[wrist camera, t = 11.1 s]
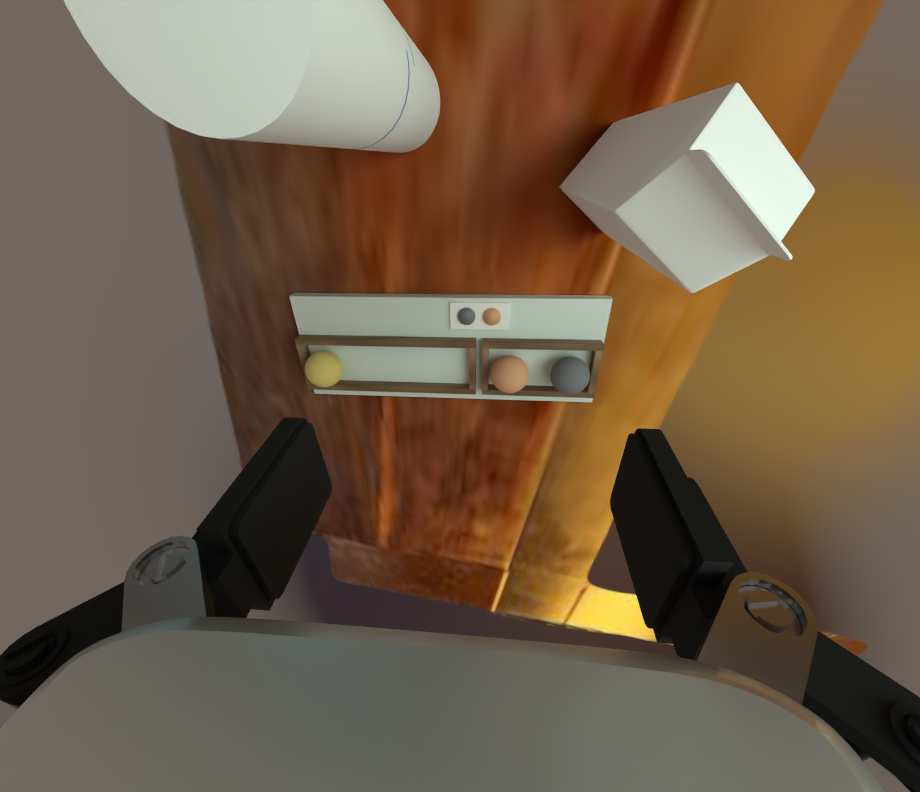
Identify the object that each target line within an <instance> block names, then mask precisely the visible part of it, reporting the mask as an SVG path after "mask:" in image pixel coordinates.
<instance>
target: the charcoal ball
mask: <svg viewBox="0 0 920 792" xmlns="http://www.w3.org/2000/svg"><path fill="white" fill-rule="evenodd" d="M550 379H551V382H552V385H553V386H554V387H555V389H556V390H558V391H559V392H561V393H563V394H568V395H571V394H576V393H579V392H581V391H582V390H583V389H584V388H585V387H586V386H587V385H588V383H589V379H590V371H589V368H588V366H587V364H586V363H585V362H584V361H583V360H581V359H580V358H577V357H574V356H568V357H563V358H561V359H559V360H558V361H557V362H556V363H555V364H554V365H553V367H552V369H551V373H550Z"/></svg>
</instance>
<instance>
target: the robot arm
mask: <svg viewBox="0 0 920 792" xmlns="http://www.w3.org/2000/svg"><path fill="white" fill-rule="evenodd" d="M331 490H332V484H331V481H330V478H329V474H328V471H327V468H326V465H325V462H324V459H323V456H322V453H321V450H320V447H319V443H318V440H317V437H316V434H315V431H314V428H313V425H312V424H311V423H308V422H307V420H306V419H305V418H289V417H286V418H284V419H282V420H281V422H280V423H279V424H278V425H277V427H276V428H275V429H274V431H273V432H272V433H271V434H270V436H269V437H268V438H267V440H266V441H265V442H264V443H263V445H262V446H261V447H260V449H259V450H258V451H257V452H256V454H255V455H254V456H253V457H252V459H251V460H250V461H249V463H248V464H247V465H246V466H245V468H244V469H243V470H242V472H241V473H240V474H239V475H238V477H237V478H236V479H235V481H234V482H233V483H232V484H231V486H230V487H229V488H228V490H227V491H226V492H225V493H224V495H223V496H222V497H221V498H220V500H219V501H218V502H217V504H216V505H215V506H214V508H213V509H212V510H211V511H210V513H209V514H208V515H207V516H206V518H205V519H204V520H203V521H202V523H201V524H200V525H199V527H198V528H197V532H196V533H195V535H194V536H193V537H192V538H190V537H187V536H176V537H170V538H168V539H165V540H162V541H160V542H158V543H156V544H154V545H152V546H150V547H149V548H148V549H146V550H145V551H144V552H142V553H141V554H140V555H139V556H138V557H137V558H136V559H135V560H134V561H133V563H132V564H131V566H130V567H129V569H128V570H127V573H126V576H125V580H124V582H123V583H121V584H119V585H117V586H115V587H113V588H111V589H109V590H107V591H105V592H104V593H102V594H100V595H98V596H96V597H94V598H92V599H90V600H88V601H86V602H84V603H82V604H80V605H78V606H76V607H74V608H72V609H71V610H69V611H67V612H65V613H63V614H61V615H59V616H57V617H55V618H53V619H51V620H49V621H47V622H45V623H44V624H42V625H40V626H38V627H36V628H34V629H33V630H31V631H30V632H28V633H26V634H24V635H23V636H22V637H20V638H19V639H18V640H17V641H15V642H14V643H13V644H12V645H10V646H9V647H8V648H7V649H6V650H5V651H4V652H3V654H1V655H0V792H920V697H918V696H917V695H915V694H914V693H912V692H911V691H909V690H907V689H906V688H904V687H903V686H901V685H900V684H898V683H897V682H895V681H894V680H892V679H891V678H889V677H887V676H886V675H885V674H883V673H882V672H880V671H878V670H877V669H875V668H874V667H872V666H871V665H869V664H868V663H866V662H865V661H863V660H862V659H860V658H859V657H857V656H856V655H854V654H852V653H851V652H849V651H848V650H846V649H845V648H843V647H842V646H840V645H839V644H837V643H836V642H834V641H833V640H831V639H829V638H828V637H826V636H825V635H823V634H822V633H820V632H819V631H817V622H816V619H815V617H814V614H813V612H812V611H811V609H810V608H809V606H808V605H807V604H806V603H805V602H804V600H803V599H802V598H801V597H800V596H799V595H798V594H797V593H796V592H795V591H793V590H792V589H790V588H789V587H788V586H786V585H785V584H783V583H782V582H780V581H778V580H776V579H774V578H772V577H769V576H767V575H763V574H759V573H748V572H747V570H746V569H745V567H744V565H743V564H742V562H741V560H740V558H739V557H738V555H737V553H736V551H735V549H734V548H733V546H732V544H731V542H730V541H729V539H728V537H727V535H726V533H725V532H724V530H723V528H722V526H721V525H720V523H719V521H718V519H717V518H716V516H715V514H714V513H713V511H712V509H711V507H710V505H709V503H708V502H707V500H706V498H705V496H704V495H703V493H702V491H701V489H700V488H699V486H698V484H697V483H696V482H695V480H693V479H692V478H687V476H686V474H685V473H684V471H683V469H682V467H681V465H680V463H679V462H678V460H677V458H676V456H675V454H674V452H673V451H672V449H671V447H670V445H669V443H668V442H667V440H666V438H665V436H664V434H663V432H662V431H661V430H659V429H637V430H636V431H635V434H632V433H631V434H629V436H628V439H627V442H626V446H625V449H624V453H623V456H622V460H621V463H620V467H619V470H618V473H617V477H616V480H615V484H614V487H613V491H612V494H611V499H610V505H611V511H612V514H613V517H614V521H615V524H616V527H617V531H618V534H619V537H620V541H621V544H622V548H623V551H624V555H625V558H626V561H627V565H628V568H629V571H630V575H631V578H632V582H633V585H634V588H635V592H636V595H637V599H638V602H639V605H640V609H641V612H642V616H643V619H644V622H645V624H646V626H647V627H648V628H653V630H654V633H655V637H656V640H657V643H669V644H674V647H675V650H676V653H677V655H678V656H680V657H681V658H679V657H673V656H666V655H660V654H654V653H645V652H635V651H625V650H617V649H608V648H598V647H589V646H577V645H567V644H556V643H544V642H534V641H522V640H511V639H500V638H489V637H478V636H466V635H454V634H442V633H431V632H419V631H407V630H395V629H383V628H382V629H381V628H371V627H359V626H345V625H333V624H320V623H308V622H295V621H283V620H267V619H250V618H246V617H247V615H248V613H249V611H250V609H257V610H270V608H271V607H272V605H273V602H274V601H275V599H277V598H280V596H281V595H282V594H283V592H284V590H285V588H286V586H287V584H288V582H289V580H290V578H291V576H292V573H293V571H294V569H295V567H296V565H297V563H298V561H299V559H300V557H301V555H302V553H303V550H304V549H305V546H306V544H307V542H308V540H309V538H310V536H311V534H312V532H313V530H314V528H315V526H316V524H317V522H318V519H319V517H320V515H321V513H322V511H323V509H324V507H325V505H326V503H327V501H328V499H329V497H330V494H331Z"/></svg>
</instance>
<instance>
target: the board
mask: <svg viewBox="0 0 920 792" xmlns="http://www.w3.org/2000/svg"><path fill="white" fill-rule="evenodd" d="M289 298H290V301H291V305H292V309H293V313H294V317H295V320H296V324H297V328H298V332H299V335H353V336H408V337H464V338H476V395H474V394H441V393H408V392H375V391H342V390H314V393H315V394H346V395H378V396H410V397H442V398H473V399H505V400H537V401H569V402H592V399H593V398H572V397H539V396H507V395H482V346H483V338H520V339H576V340H602V342H603V344H604V340H605V335H606V330H607V325H608V320H609V315H610V310H611V305H612V300H613V299H612V298H611V297H610V296H605V295H486V294H366V293H293V294H292V295H290V296H289ZM308 347H309V351H310V355H312V354H314V353H316V352H319V351H328V352H331V353H333V354H335V355H336V356H337V357H338V358H339V359H340V360H341V362H342V365H343V374H342V377H341V379H340V380H356V381H391V382H427V383H463V384H469V348H428V347H379V346H330V345H308ZM509 355H511V356H516V357H519V358H520V359H522V360H523V361H524V362H525V364H526V365H527V367H528V371H529V378H528V381H527V383H526V385H534V386H553V385H552V382H551V379H550V373H551V369H552V367H553V365H554V364H555V363H556V362H557V361H558V360H559V359H561V358H563V357H568V356H574V357H577V358H580V359H581V360H583V361H584V362H585V363H586V364H587V366H588V368H589V367H590V362H591V356H592V351H576V350H527V349H489V378H488V384H493V382H492V379H491V370H492V367H493V365H494V363H495V362H496V361H497V360H498V359H500V358H501V357H504V356H509Z"/></svg>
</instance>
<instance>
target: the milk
mask: <svg viewBox="0 0 920 792" xmlns="http://www.w3.org/2000/svg"><path fill="white" fill-rule="evenodd" d="M559 188H560V189H561V190H562V191H563V192H564V193H565V194H566V195H567V196H568V197H569V198H570V199H571V200H572V201H573V202H574V203H575V204H576V205H577V206H578V207H579V208H580V209H581V210H582V211H583V212H584V213H585V214H586V215H587V217H588V218H589V219H590V220H591V221H592V222H593V223H594V224H595V225H596V226H597V227H598V228H599V229H600V230H601V231H602V232H603V233H605V234H606V235H607V236H609V237H610V238H612V239H613V240H615V241H616V242H618V243H619V244H620V245H622V246H623V247H625V248H626V249H628V250H629V251H631V252H632V253H634V254H635V255H636V256H638V257H639V258H641V259H642V260H644V261H645V262H647V263H648V264H649V265H651V266H652V267H654V268H655V269H657V270H658V271H660V272H661V273H663V274H664V275H665V276H667V277H668V278H670V279H671V280H673V281H674V282H676V283H677V284H678V285H680V286H681V287H683V288H684V289H686V290H687V291H689V292H690V293H694V292H697V291H699V290H701V289H703V288H705V287H707V286H709V285H711V284H713V283H715V282H717V281H719V280H721V279H723V278H725V277H727V276H729V275H731V274H733V273H735V272H737V271H739V270H741V269H743V268H745V267H747V266H749V265H751V264H753V263H754V262H757V261H759V260H761V259H763V258H765V257H767V256H769V255H772V256H776V257H779V258H782V259H785V260H788V261H789V260H791V259H792V255H791V253H790V252H789V251H788V250H787V248H786V247H785V246H784V245H783V244H782V242H781V240H782V239H783V237H784V236H785V234H786V233H787V231H788V230H789V229H790V227H791V226H792V224H793V223H794V221H795V220H796V218H797V217H798V216H799V214H800V213H801V211H802V210H803V208H804V207H805V205H806V204H807V203H808V201H809V200H810V198H811V197H812V195H813V194H814V192H815V189H814V187H813V186H812V184H811V183H810V182H809V180H808V179H807V178H806V176H805V175H804V173H803V172H802V171H801V169H800V168H799V166H798V165H797V164H796V162H795V161H794V159H793V158H792V157H791V155H790V154H789V152H788V151H787V150H786V148H785V147H784V146H783V144H782V143H781V141H780V140H779V139H778V137H777V136H776V134H775V133H774V132H773V130H772V129H771V127H770V126H769V125H768V123H767V122H766V120H765V119H764V118H763V116H762V115H761V114H760V112H759V111H758V109H757V108H756V107H755V105H754V104H753V102H752V101H751V100H750V98H749V97H748V95H747V94H746V93H745V91H744V90H743V88H742V87H741V86H740V84H739V83H733V84H730V85H727V86H724V87H721V88H718V89H715V90H712V91H709V92H706V93H702V94H699V95H696V96H693V97H690V98H687V99H684V100H681V101H678V102H675V103H672V104H669V105H666V106H663V107H660V108H657V109H654V110H650V111H647V112H644V113H641V114H638V115H635V116H632V117H629V118H626V119H623V120H620V121H617V122H614V123H612V124H611V126H610V127H609V128H608V129H607V130H606V132H605V133H604V134H603V135H602V136H601V138H600V139H599V140H598V141H597V142H596V143H595V145H594V146H593V147H592V148H591V149H590V151H589V152H588V153H587V154H586V155H585V157H584V158H583V159H582V160H581V161H580V163H579V164H578V165H577V166H576V167H575V168H574V170H573V171H572V172H571V173H570V174H569V176H568V177H567V178H566V179H565V180H564V182H563V183H562V184H561V185H560V187H559Z"/></svg>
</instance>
